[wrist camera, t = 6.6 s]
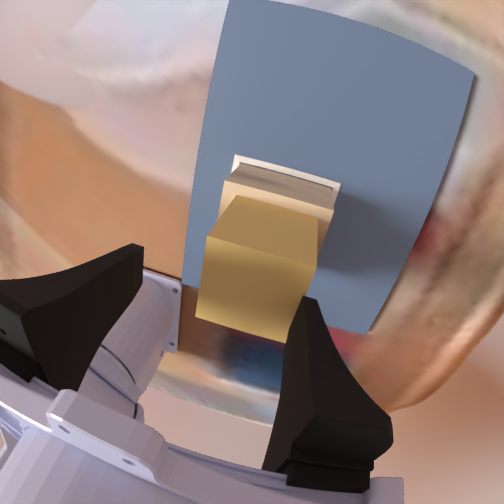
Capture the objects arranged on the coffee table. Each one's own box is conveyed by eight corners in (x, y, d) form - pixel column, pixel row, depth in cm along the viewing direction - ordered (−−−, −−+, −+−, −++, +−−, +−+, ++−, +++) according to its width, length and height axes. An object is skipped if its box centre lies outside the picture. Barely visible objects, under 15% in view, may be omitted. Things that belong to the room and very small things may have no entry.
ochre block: (294, 284, 19) (285, 343, 15) (222, 263, 19) (195, 316, 15) (317, 217, 17) (316, 267, 12) (236, 194, 17) (206, 235, 13)
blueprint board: (364, 330, 25) (365, 335, 25) (183, 279, 26) (180, 284, 26) (470, 72, 14) (475, 72, 13) (232, -2, 15) (230, -5, 14)
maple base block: (305, 264, 23) (301, 298, 19) (225, 241, 23) (208, 271, 20) (331, 188, 20) (334, 210, 16) (241, 163, 20) (224, 180, 17)
